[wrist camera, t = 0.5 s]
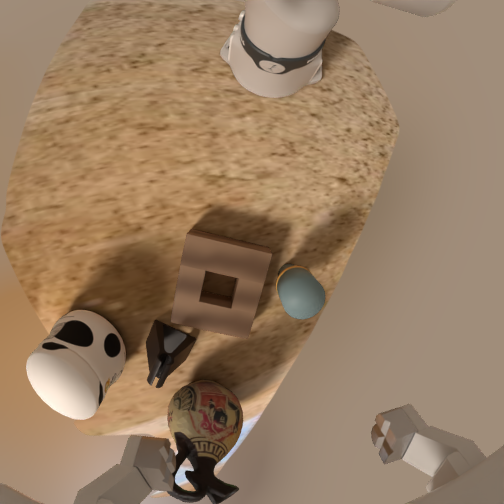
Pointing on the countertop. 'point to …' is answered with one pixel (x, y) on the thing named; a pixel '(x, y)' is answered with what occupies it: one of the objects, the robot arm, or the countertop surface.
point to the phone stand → (166, 351)
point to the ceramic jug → (204, 437)
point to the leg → (299, 291)
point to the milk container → (77, 363)
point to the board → (226, 263)
